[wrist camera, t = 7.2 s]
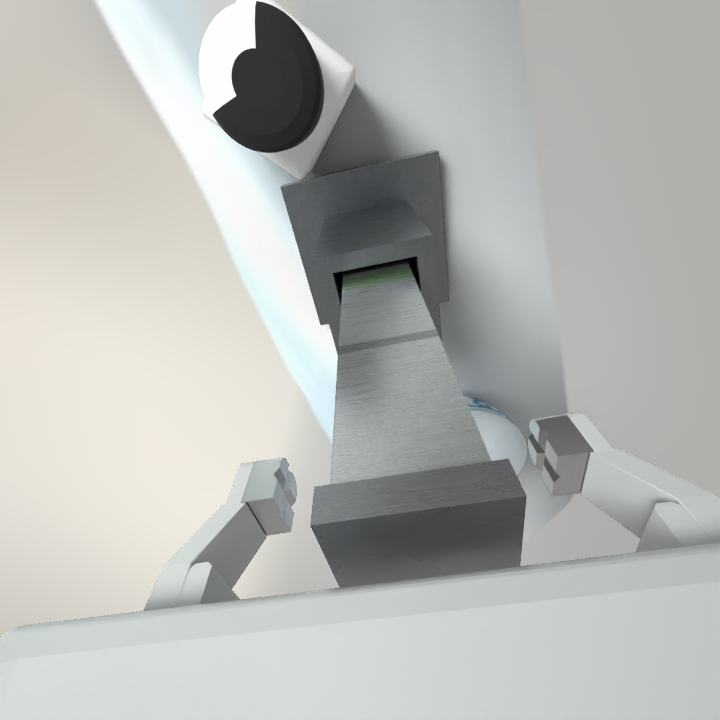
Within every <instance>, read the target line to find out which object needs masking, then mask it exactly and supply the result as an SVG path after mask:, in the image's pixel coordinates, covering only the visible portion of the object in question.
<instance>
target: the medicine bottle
mask: <svg viewBox="0 0 720 720" xmlns="http://www.w3.org/2000/svg"><path fill="white" fill-rule="evenodd" d="M199 75H200V81H201V87H202V90H203V94H204V97H205V99H204V102H203V105H202V109H201V111H202V114H203V115H204V116H205V117H206V118H207V119H209V120H210V121H212V122H213V123H215V124H216V125H218V126H219V127H221V128H222V129H223V130H224V131H225V132H226V133H227V134H228V135H229V136H230V137H231V138H232V139H234V140H235V141H236V142H238V143H239V144H241V145H243V146H244V147H246V148H249V149H251V150H254V151H257V152H258V153H260V154H261V155H263V156H264V157H266V158H267V159H269V160H270V161H272V162H273V163H275V164H276V165H278V166H279V167H281V168H282V169H284V170H285V171H287V172H288V173H290V174H291V175H293V176H294V177H296V178H297V179H303V178H304V177H305V176H306V175H307V174H308V173H309V172H310V171H311V170H312V169H313V168H314V166H315V164H316V162H317V160H318V158H319V156H320V154H321V152H322V150H323V148H324V146H325V144H326V142H327V140H328V138H329V136H330V134H331V132H332V130H333V128H334V126H335V124H336V122H337V120H338V118H339V116H340V114H341V111H342V109H343V107H344V105H345V103H346V101H347V99H348V97H349V95H350V93H351V91H352V89H353V87H354V84H355V68H354V66H353V65H352V64H351V63H350V62H349V61H347V60H346V59H345V58H344V57H342V56H341V55H340V54H339V53H338V52H336V51H335V50H334V49H333V48H331V47H330V46H329V45H328V44H327V43H325V42H324V41H323V40H322V39H320V38H319V37H318V36H317V35H316V34H314V33H313V32H312V31H311V30H309V29H308V28H307V27H306V26H305V25H303V24H302V23H301V22H300V21H298V20H297V19H296V18H295V17H294V16H292V15H291V14H290V13H289V12H287V11H286V10H285V9H284V8H283V7H281V6H280V5H279V4H278V3H276V2H275V1H274V0H236V3H235V4H233V5H230V6H228V7H227V8H225V9H224V10H222V11H221V12H220V13H219V14H218V15H217V16H216V17H215V18H214V19H213V21H212V22H211V24H210V25H209V27H208V29H207V31H206V33H205V35H204V38H203V41H202V45H201V50H200V57H199Z"/></svg>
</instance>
